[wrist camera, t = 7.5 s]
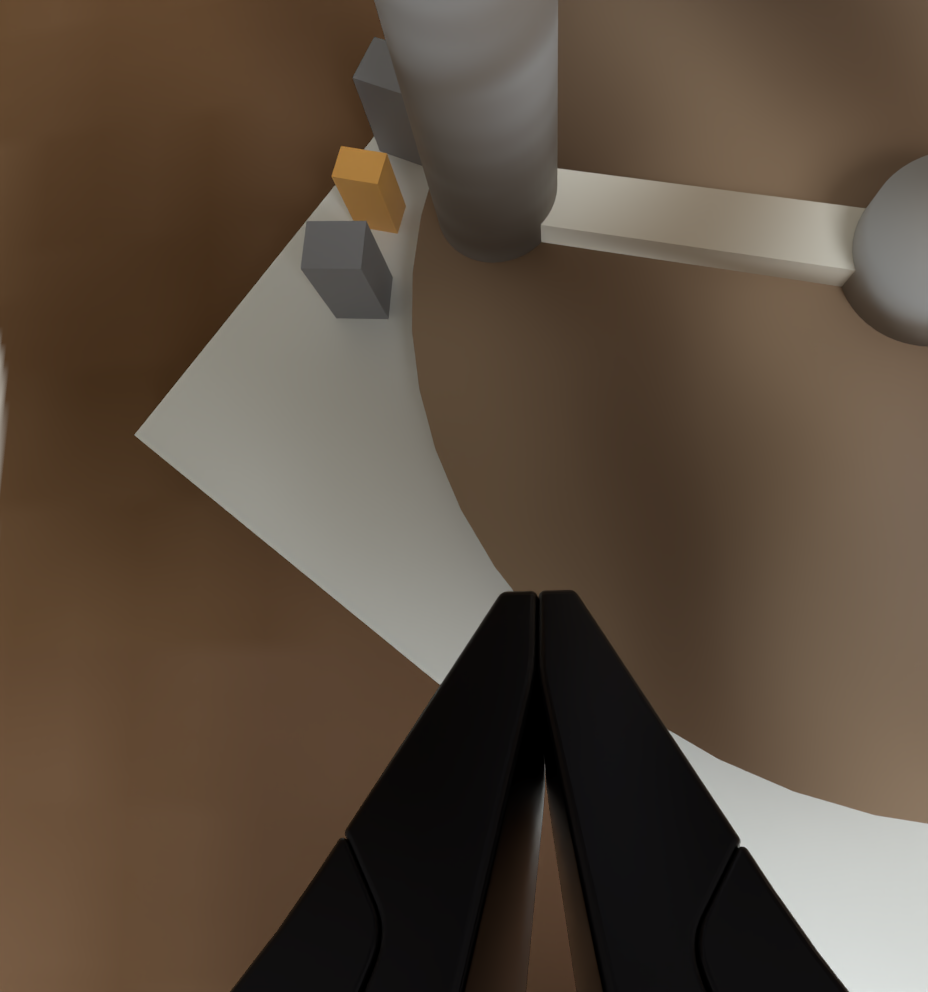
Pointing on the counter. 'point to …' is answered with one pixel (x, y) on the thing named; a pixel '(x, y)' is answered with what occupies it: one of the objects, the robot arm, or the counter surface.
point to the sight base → (456, 517)
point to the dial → (694, 351)
